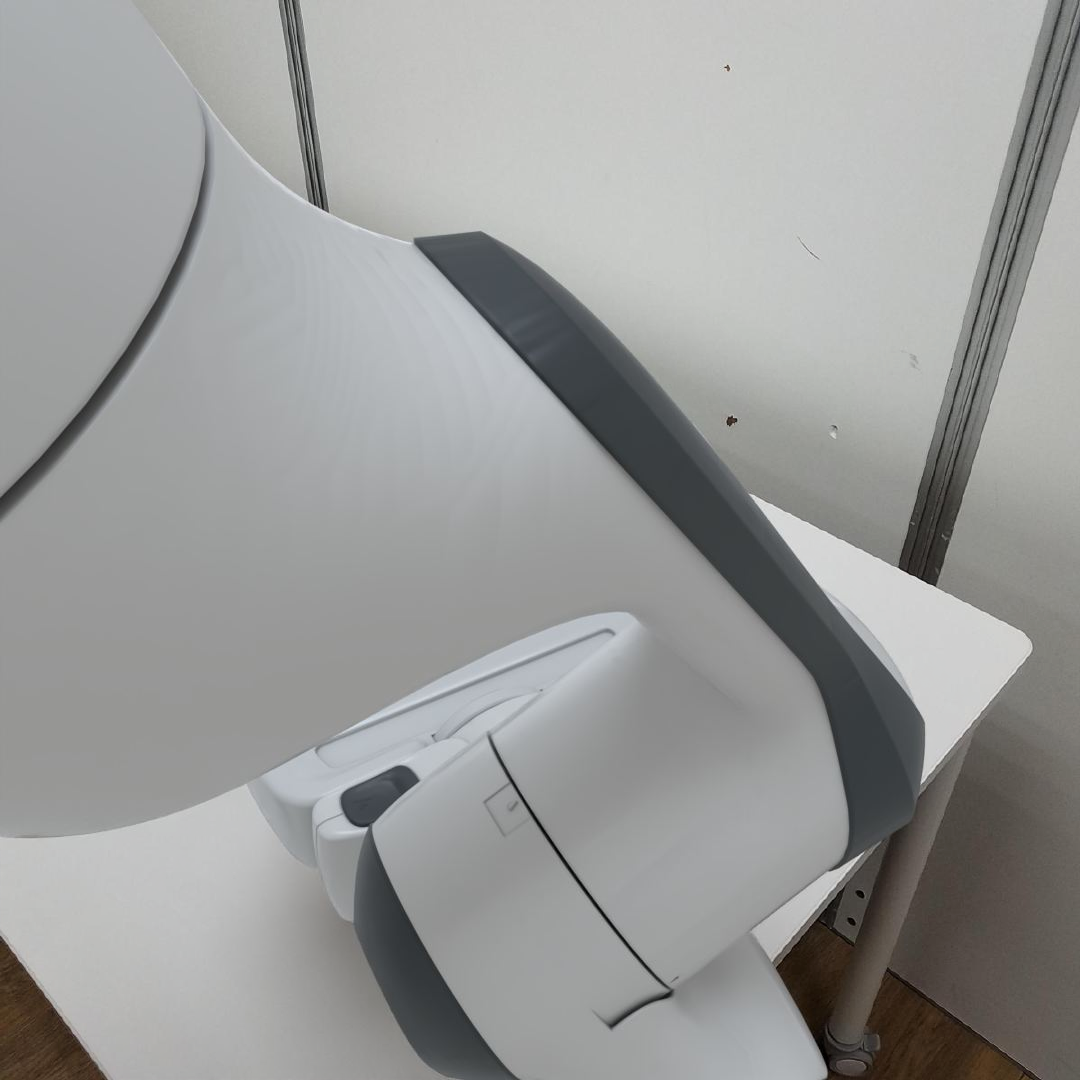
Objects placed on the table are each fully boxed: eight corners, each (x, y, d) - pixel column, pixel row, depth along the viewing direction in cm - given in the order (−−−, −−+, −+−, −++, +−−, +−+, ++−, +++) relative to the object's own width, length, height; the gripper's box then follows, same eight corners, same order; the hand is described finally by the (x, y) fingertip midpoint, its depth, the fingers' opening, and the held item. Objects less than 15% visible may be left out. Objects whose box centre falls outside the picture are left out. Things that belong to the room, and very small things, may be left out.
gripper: (737, 656, 48) (578, 478, 57) (282, 853, 41) (182, 615, 50) (721, 746, 52) (575, 567, 61) (306, 939, 45) (210, 705, 54)
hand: (396, 589), depth 56 cm, fingers open, 8 cm apart
